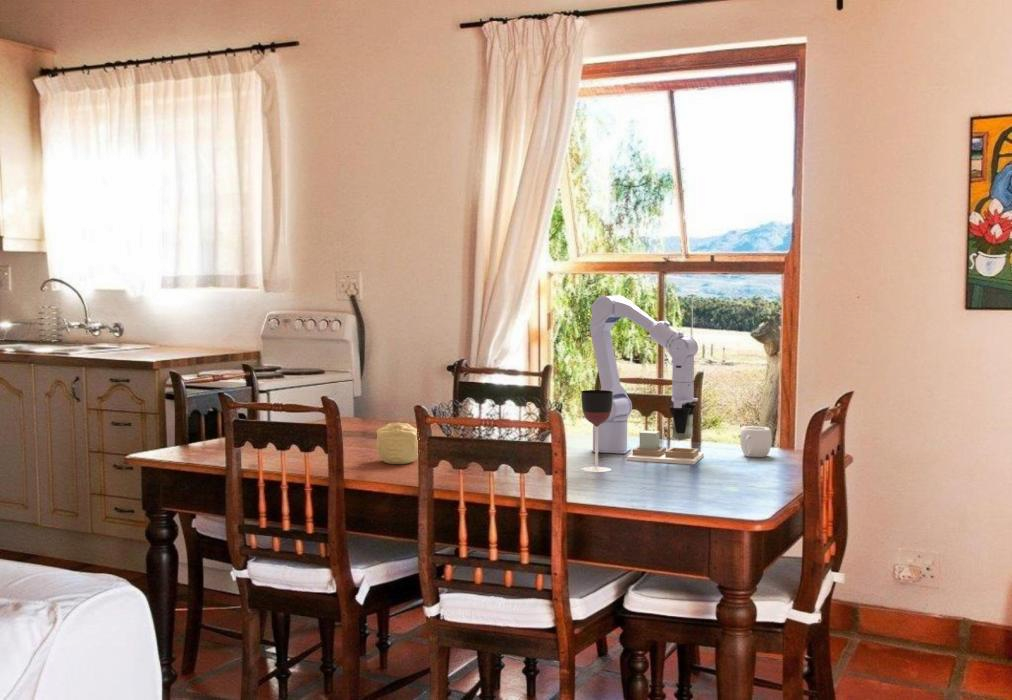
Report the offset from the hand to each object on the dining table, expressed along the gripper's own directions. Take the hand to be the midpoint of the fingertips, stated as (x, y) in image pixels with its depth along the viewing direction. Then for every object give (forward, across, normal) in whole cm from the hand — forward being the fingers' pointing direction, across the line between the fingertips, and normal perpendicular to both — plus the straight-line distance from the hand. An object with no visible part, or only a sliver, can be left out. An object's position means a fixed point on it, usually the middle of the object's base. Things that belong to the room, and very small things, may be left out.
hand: (682, 431), depth 282 cm
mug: (+8, +11, -18) cm, 22 cm away
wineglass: (+8, -23, +18) cm, 30 cm away
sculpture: (+8, -32, +70) cm, 77 cm away
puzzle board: (+8, 0, +4) cm, 9 cm away
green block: (+2, 0, 0) cm, 2 cm away
